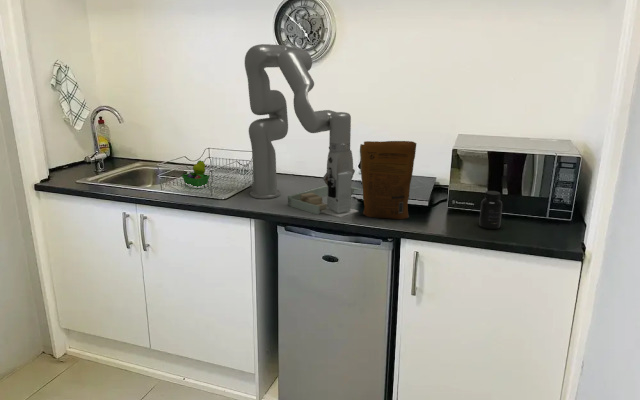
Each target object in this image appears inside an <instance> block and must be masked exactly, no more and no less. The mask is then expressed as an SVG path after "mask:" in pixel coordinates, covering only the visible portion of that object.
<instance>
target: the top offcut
mask: <svg viewBox="0 0 640 400" xmlns="http://www.w3.org/2000/svg"><path fill="white" fill-rule="evenodd" d="M301 201H303V202H307V203H310V204H313V205H319V204H322V203H323V197H320V196H318V195H316V194H314V193H306V194H301Z"/></svg>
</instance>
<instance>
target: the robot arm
mask: <svg viewBox="0 0 640 400" xmlns="http://www.w3.org/2000/svg"><path fill="white" fill-rule="evenodd" d="M312 66H313V59H312V56H311V55H310V53H309V52H308V51H306V50H305V49H301V48H297V47H292V46H288V45H284V44H270V43H269V44H264V43H263V44H256V45H253V46H251V47H250V48H249V49H248V50H247V52H246V53H245V55H244V69H245V73H246V78H247V86H248V97H249V106H250V107H249V108H250V110H251V113H252V114H253V115H256V116H265V115H267V116H268V117H266V118H259V119H256V120H254V121H252V122H251V123H250V125H249V126H248V137H249V141H250V146H251V157H252V159H251V160H252V175H253V176H252V179H253V182H251V183H250V184H249V187H250V188H252V191H250V193H249V194H250V197H251V198H255V199H261V200H262V199H264V200H265V199H274V198H277V197H279V196H280V195H281V190H279V189H278V188H277V184H278V183H277V157H276V155H277V154H276V149H275V147H274V145H273V143H272V142H274V141H279V140H283V139H284V138H285V137H287V134H288V133H289V132H288V131H289V118H288V106H287V105H288V104H287V100H286V97H285V95H284V94H283V93H282V92H281V91H279V90H277V89H271V83H270V82H271V80H270V77H269V75H268V73H267V71H266V68H278V69H279V70H280V71H281V73H282V75H283V77H284V78H285V80H286V82H287V84H288V85H289V87H290V89H291V91H292V93H293V110H294V114H295V116H296V118H297V119H298V121H299V122H300V124H301V126H302V128H303V129H304V130H305V131H306V132H308V133H310V134H319V133H321V132H329V139H328V141H329V144H328V145H329V146H328V154H327V161H326V172H325V174H324V175H323V176H322V180H323V181H324V183H325V184H326V185H327V186H328V196H329V197H332V198H335V197H336V187H334V186H335V184H336V180H338V174H341V173H344V172H348V171H349V172H351V173H352V179H353V178H354V175H355V173H356V170H355V169H354V158H353V152H352V149H351V136H352V135H351V132H352V131H351V130H352V127H351V126H352V124H351V122H352V117H351V114H350V113H349V112H345V111H334V110H330V109H324V110H323V109H322V110H314V108H313V107H312V105H311V103H310V100H309V96H308V94H309V93H310V91H312V89H313V88H314V86H315V82H314V80H313V78H312V76H311V74H310V73H309V71H310V70H311V69H312ZM332 177H333V178H332ZM332 180H333V182H331V181H332Z"/></svg>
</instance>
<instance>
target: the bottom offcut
mask: <svg viewBox="0 0 640 400" xmlns="http://www.w3.org/2000/svg"><path fill="white" fill-rule="evenodd" d="M300 201H301V200H300ZM317 206H320V211H322V210H325V209H328V207H327V203H323V202H322V204H319V205H317Z"/></svg>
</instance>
